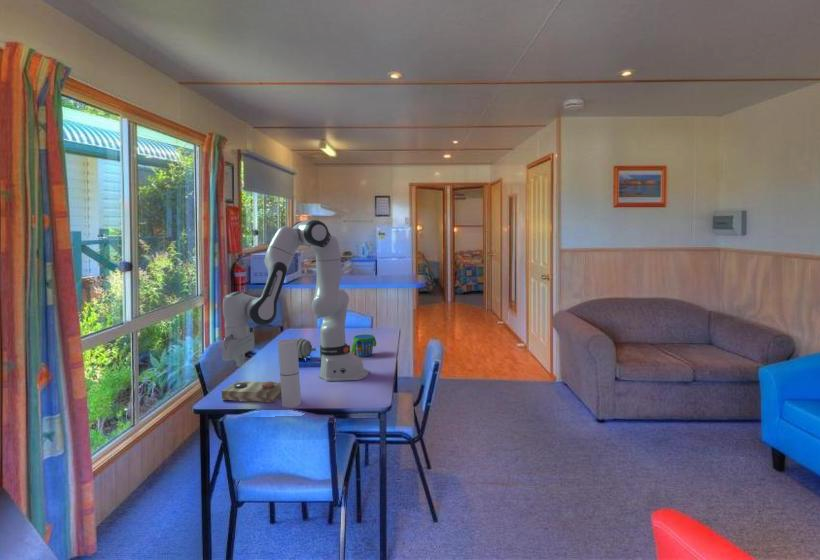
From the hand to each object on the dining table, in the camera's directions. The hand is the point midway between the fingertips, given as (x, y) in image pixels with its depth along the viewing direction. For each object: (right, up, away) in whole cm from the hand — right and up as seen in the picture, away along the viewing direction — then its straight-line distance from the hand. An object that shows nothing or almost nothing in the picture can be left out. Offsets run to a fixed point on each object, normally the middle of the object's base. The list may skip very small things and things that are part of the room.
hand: (240, 365), depth 207 cm
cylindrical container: (+23, -14, -10) cm, 28 cm away
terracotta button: (+12, -11, -1) cm, 16 cm away
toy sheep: (+13, -6, +53) cm, 55 cm away
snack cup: (+46, -5, +57) cm, 73 cm away
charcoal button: (0, -12, +2) cm, 12 cm away
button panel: (+6, -13, +1) cm, 14 cm away
